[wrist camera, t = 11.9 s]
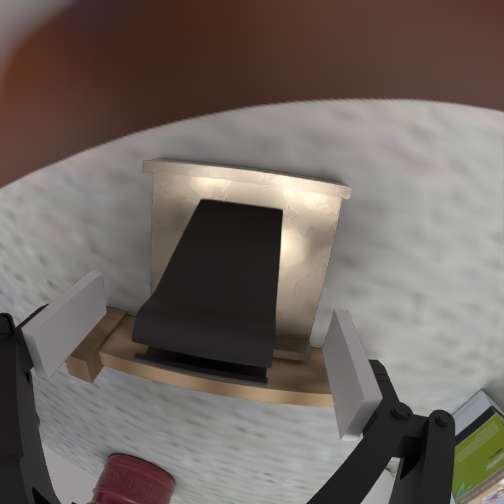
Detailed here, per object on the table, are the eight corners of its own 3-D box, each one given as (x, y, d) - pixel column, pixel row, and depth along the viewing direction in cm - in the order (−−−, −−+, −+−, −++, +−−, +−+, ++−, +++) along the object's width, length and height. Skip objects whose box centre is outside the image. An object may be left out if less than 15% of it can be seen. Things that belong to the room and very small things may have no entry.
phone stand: (202, 197, 21) (125, 252, 10) (283, 209, 21) (291, 279, 10) (194, 305, 24) (141, 411, 13) (265, 316, 24) (254, 435, 13)
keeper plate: (155, 315, 26) (143, 333, 23) (159, 158, 21) (143, 160, 19) (306, 340, 26) (308, 361, 23) (342, 182, 21) (352, 187, 18)
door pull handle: (108, 326, 27) (69, 374, 20) (106, 306, 26) (62, 352, 19) (352, 366, 26) (369, 428, 19) (360, 347, 26) (381, 409, 18)
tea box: (506, 410, 29) (538, 469, 15) (462, 447, 32) (486, 509, 18) (481, 386, 27) (525, 464, 13) (427, 432, 30) (454, 513, 16)
